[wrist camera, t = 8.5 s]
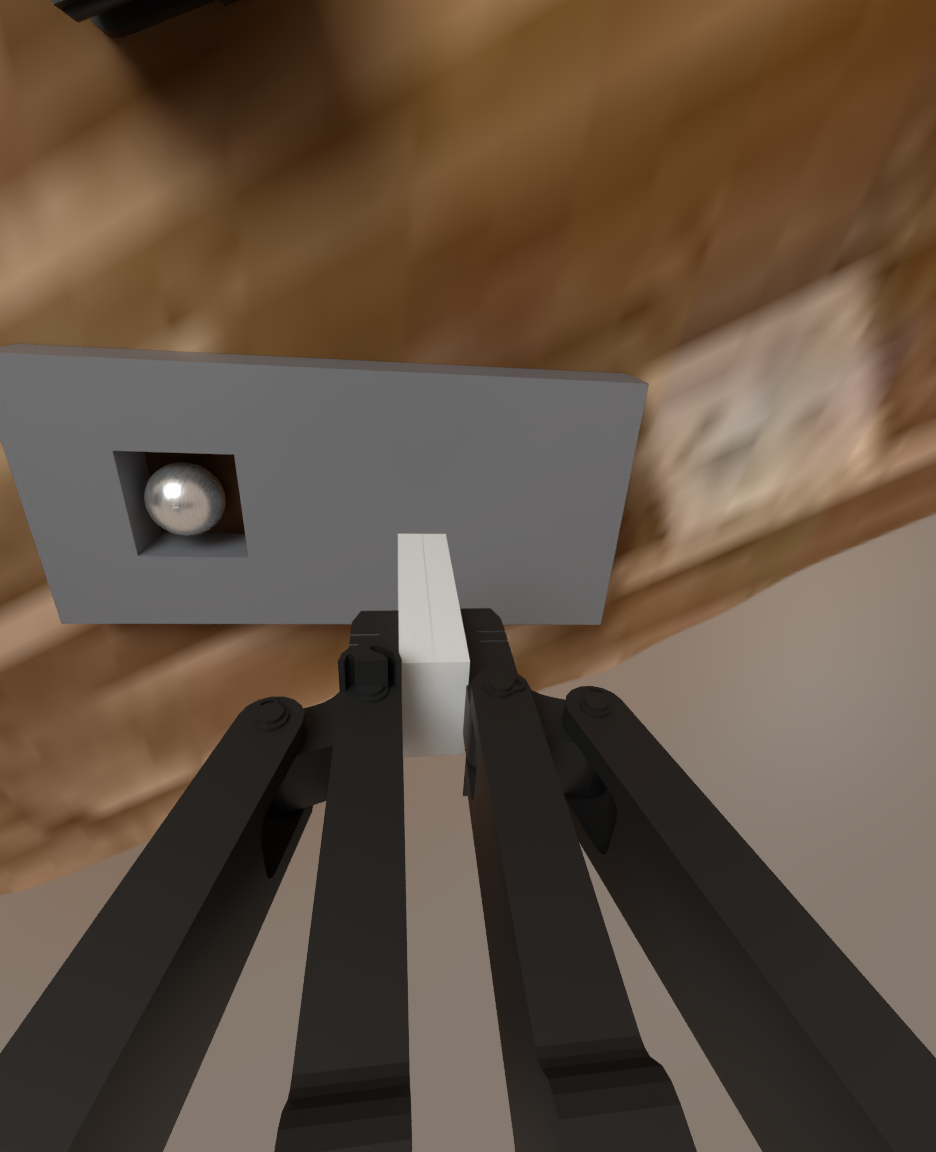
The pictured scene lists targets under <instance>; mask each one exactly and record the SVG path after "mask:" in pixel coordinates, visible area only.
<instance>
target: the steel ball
mask: <svg viewBox="0 0 936 1152" xmlns="http://www.w3.org/2000/svg"><path fill="white" fill-rule="evenodd" d="M144 501H145V506H146V509H147V511H148V513H149V515H150V517H151V518H152V519H153V520H154V521H155V523H156V524H158V525H159V526H160V527H162V528H163V529H165V530H167V531H169V532H171V533H174V534H178V535H186V536H189V535H197V534H201V533H203V532H206V531H208V530H209V529H211V528H212V527H213V526H215V525H216V524H217V523H218V521H219V520H220V519H221V517H222V515H223V513H224V509H225V504H226V499H225V492H224V489H223V487H222V485H221V483H220V482H219V480H218V479H217V478H216V476H215V475H214V474H213V473H211V472H210V471H209V470H207V469H206V468H204V467H202V466H200V465H197V464H193V463H188V462H178V463H172V464H168V465H166V466H164V467H162V468H160V469H159V470H157V471H156V472H155V473H154V474H153V475H152V476H151V477H150V479H149V481H148V482H147V485H146V488H145V492H144Z"/></svg>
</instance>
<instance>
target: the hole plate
mask: <svg viewBox="0 0 936 1152" xmlns="http://www.w3.org/2000/svg"><path fill="white" fill-rule="evenodd" d="M648 385H649V384H648V383H646V382H644V381H642V380H640V379H637V378H635V377H633V376H631V375H629V374H622V373H602V372H582V371H561V370H541V369H521V368H501V367H480V366H460V365H440V364H420V363H399V362H379V361H359V360H339V359H318V358H298V357H278V356H258V355H237V354H217V353H197V352H177V351H156V350H136V349H116V348H95V347H75V346H55V345H35V344H12V345H6V346H0V439H1V442H2V445H3V448H4V451H5V454H6V457H7V460H8V463H9V467H10V470H11V473H12V476H13V479H14V482H15V485H16V488H17V491H18V494H19V497H20V500H21V503H22V506H23V509H24V512H25V515H26V518H27V521H28V524H29V527H30V530H31V533H32V536H33V539H34V542H35V545H36V548H37V551H38V554H39V557H40V560H41V563H42V566H43V569H44V572H45V575H46V578H47V581H48V584H49V587H50V590H51V593H52V596H53V599H54V602H55V605H56V608H57V611H58V614H59V617H60V620H61V623H62V624H352V621H353V620H354V619H355V618H356V616H357V615H358V614H359V613H360V612H361V611H390V610H398V534H446V538H447V543H448V548H449V554H450V559H451V564H452V569H453V575H454V580H455V585H456V590H457V596H458V601H459V606H460V608H491V609H492V610H493V611H494V612H495V613H496V614H497V615H498V616H499V617H500V618H501V620H502V623H503V625H601V621H602V616H603V611H604V606H605V601H606V596H607V591H608V585H609V580H610V575H611V570H612V565H613V560H614V555H615V550H616V545H617V540H618V535H619V530H620V525H621V520H622V515H623V510H624V505H625V500H626V495H627V490H628V485H629V480H630V475H631V470H632V465H633V460H634V455H635V450H636V445H637V440H638V435H639V430H640V425H641V420H642V415H643V410H644V405H645V400H646V395H647V390H648ZM145 452H169V453H200V454H231V455H234V457H235V465H236V472H237V479H238V486H239V493H240V501H241V508H242V515H243V522H244V529H245V533H201V534H197V535H189V536H186V535H178V534H174V533H171V532H162V530H161V527H160V526H159V525H158V524H156V523H155V521H154V520H153V519H152V518H151V517H150V515H149V513H148V511H147V509H146V506H145V501H144V492H145V488H146V485H147V482H148V481H149V479H150V474H149V470H148V465H147V460H146V456H145Z"/></svg>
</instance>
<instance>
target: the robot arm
mask: <svg viewBox="0 0 936 1152" xmlns="http://www.w3.org/2000/svg"><path fill="white" fill-rule="evenodd" d="M338 670H339V686H340V692H339V693H338V694H337V695H335V696H334V697H333V698H331V699H330V700H328V701H326V702H324V703H321V704H318V705H315V706H311V707H307V708H302V705H300V704H299V703H298V702H297V701H295V700H293V699H290V698H287V697H269V698H265V699H261V700H258V701H256V702H254V703H252V704H250V705H248V706H247V707H246V708H245V709H244V710H243V711H242V712H241V713H240V714H239V715H238V716H237V718H236V719H235V721H234V722H233V723H232V725H231V726H230V728H229V729H228V731H227V732H226V733H225V735H224V736H223V738H222V739H221V741H220V742H219V743H218V745H217V746H216V748H215V749H214V750H213V752H212V753H211V755H210V756H209V758H208V759H207V760H206V762H205V763H204V765H203V766H202V768H201V769H200V770H199V772H198V773H197V775H196V776H195V777H194V779H193V780H192V782H191V783H190V785H189V786H188V787H187V789H186V790H185V792H184V793H183V795H182V796H181V797H180V799H179V800H178V802H177V803H176V804H175V806H174V807H173V809H172V810H171V812H170V813H169V814H168V816H167V817H166V819H165V820H164V822H163V823H162V824H161V826H160V827H159V829H158V830H157V832H156V833H155V834H154V836H153V837H152V839H151V840H150V841H149V843H148V844H147V846H146V847H145V849H144V850H143V852H142V853H141V854H140V856H139V857H138V859H137V860H136V861H135V863H134V864H133V866H132V867H131V868H130V870H129V872H128V873H127V874H126V876H125V877H124V878H123V880H122V881H121V883H120V884H119V886H118V887H117V889H116V890H115V891H114V893H113V894H112V896H111V897H110V898H109V900H108V901H107V903H106V904H105V905H104V907H103V908H102V910H101V911H100V913H99V914H98V915H97V917H96V918H95V920H94V921H93V923H92V924H91V925H90V927H89V928H88V930H87V931H86V932H85V934H84V935H83V937H82V938H81V940H80V941H79V942H78V944H77V945H76V947H75V948H74V950H73V951H72V952H71V954H70V955H69V957H68V958H67V959H66V961H65V962H64V964H63V965H62V967H61V968H60V969H59V971H58V972H57V974H56V975H55V977H54V978H53V979H52V981H51V982H50V984H49V985H48V987H47V988H46V989H45V991H44V992H43V994H42V995H41V997H40V998H39V1000H38V1001H37V1002H36V1004H35V1005H34V1006H33V1008H32V1009H31V1011H30V1012H29V1013H28V1015H27V1017H26V1018H25V1019H24V1021H23V1022H22V1023H21V1025H20V1026H19V1028H18V1029H17V1031H16V1032H15V1033H14V1035H13V1036H12V1038H11V1039H10V1041H9V1042H8V1043H7V1045H6V1046H5V1048H4V1049H3V1050H2V1052H1V1053H0V1152H163V1150H164V1147H165V1145H166V1143H167V1141H168V1139H169V1136H170V1134H171V1132H172V1129H173V1127H174V1125H175V1122H176V1120H177V1118H178V1116H179V1114H180V1111H181V1109H182V1107H183V1104H184V1102H185V1100H186V1097H187V1095H188V1093H189V1091H190V1088H191V1086H192V1084H193V1081H194V1079H195V1077H196V1075H197V1072H198V1070H199V1068H200V1066H201V1063H202V1061H203V1059H204V1056H205V1054H206V1052H207V1050H208V1047H209V1045H210V1043H211V1041H212V1038H213V1036H214V1034H215V1031H216V1029H217V1027H218V1025H219V1022H220V1020H221V1018H222V1016H223V1013H224V1011H225V1008H226V1006H227V1004H228V1002H229V1000H230V997H231V995H232V993H233V990H234V988H235V986H236V984H237V981H238V979H239V977H240V975H241V972H242V970H243V968H244V965H245V963H246V961H247V958H248V956H249V954H250V951H251V949H252V947H253V945H254V943H255V940H256V938H257V936H258V933H259V931H260V929H261V927H262V924H263V922H264V920H265V918H266V915H267V913H268V911H269V908H270V906H271V904H272V902H273V899H274V897H275V895H276V892H277V890H278V888H279V886H280V883H281V881H282V879H283V877H284V874H285V872H286V870H287V867H288V865H289V863H290V861H291V858H292V856H293V854H294V851H295V849H296V847H297V845H298V842H299V840H300V838H301V836H302V833H303V831H304V828H305V826H306V824H307V822H308V820H309V817H310V815H311V813H312V808H313V805H315V804H318V803H321V802H324V801H326V808H325V816H324V824H323V832H322V840H321V848H320V856H319V864H318V872H317V880H316V889H315V896H314V904H313V912H312V921H311V928H310V936H309V944H308V953H307V961H306V968H305V976H304V984H303V993H302V1001H301V1008H300V1016H299V1025H298V1033H297V1041H296V1049H295V1057H294V1065H293V1073H292V1080H291V1087H290V1092H289V1096H288V1100H287V1102H286V1104H285V1107H284V1109H283V1111H282V1114H281V1119H280V1123H279V1127H278V1132H277V1139H276V1145H275V1151H274V1152H412V1127H411V1094H410V1076H409V1029H408V979H407V933H406V932H407V931H406V884H405V883H406V879H405V834H404V833H405V830H404V781H403V757H420V756H443V755H463V749H464V744H465V752H466V763H465V776H464V789H463V796H468V801H469V808H470V816H471V823H472V830H473V838H474V846H475V853H476V860H477V868H478V875H479V883H480V889H481V897H482V905H483V912H484V920H485V927H486V935H487V942H488V950H489V957H490V965H491V972H492V979H493V986H494V994H495V1002H496V1009H497V1017H498V1024H499V1031H500V1039H501V1046H502V1054H503V1061H504V1069H505V1076H506V1084H507V1091H508V1098H509V1106H510V1113H511V1121H512V1128H513V1135H514V1144H515V1152H697V1151H696V1148H695V1145H694V1142H693V1139H692V1136H691V1133H690V1130H689V1127H688V1124H687V1121H686V1119H685V1116H684V1112H683V1110H682V1107H681V1104H680V1101H679V1099H678V1096H677V1094H676V1092H675V1089H674V1086H673V1084H672V1081H671V1079H670V1078H669V1076H668V1075H667V1073H666V1071H665V1069H664V1068H663V1066H662V1065H661V1064H659V1063H658V1062H657V1061H655V1060H654V1059H653V1058H651V1057H650V1056H649V1054H648V1052H647V1051H646V1049H645V1047H644V1044H643V1042H642V1039H641V1037H640V1033H639V1030H638V1027H637V1024H636V1021H635V1018H634V1015H633V1012H632V1008H631V1005H630V1002H629V999H628V996H627V993H626V989H625V986H624V983H623V980H622V977H621V974H620V970H619V967H618V964H617V961H616V958H615V955H614V951H613V948H612V945H611V942H610V939H609V936H608V932H607V929H606V926H605V923H604V920H603V917H602V914H601V910H600V907H599V904H598V901H597V898H596V895H595V891H594V888H593V885H592V882H591V879H590V876H589V872H588V869H587V866H586V863H585V860H584V857H583V853H582V850H581V847H580V844H581V846H582V848H583V849H584V851H585V853H586V854H587V856H588V858H589V859H590V861H591V863H592V864H593V866H594V868H595V870H596V871H597V873H598V874H599V876H600V878H601V880H602V881H603V883H604V885H605V886H606V888H607V890H608V891H609V893H610V895H611V896H612V898H613V900H614V902H615V903H616V905H617V907H618V908H619V910H620V912H621V913H622V915H623V917H624V918H625V920H626V921H627V924H628V925H629V927H630V929H631V930H632V932H633V934H634V935H635V937H636V939H637V940H638V942H639V944H640V945H641V947H642V949H643V951H644V952H645V954H646V956H647V957H648V959H649V961H650V962H651V964H652V966H653V967H654V969H655V971H656V972H657V974H658V976H659V978H660V979H661V981H662V983H663V984H664V986H665V988H666V989H667V991H668V993H669V994H670V996H671V998H672V999H673V1001H674V1003H675V1005H676V1006H677V1008H678V1010H679V1011H680V1013H681V1014H682V1016H683V1018H684V1020H685V1021H686V1023H687V1025H688V1027H689V1028H690V1030H691V1031H692V1033H693V1035H694V1037H695V1038H696V1040H697V1041H698V1043H699V1045H700V1047H701V1048H702V1050H703V1052H704V1054H705V1055H706V1057H707V1058H708V1060H709V1062H710V1064H711V1065H712V1067H713V1069H714V1070H715V1072H716V1074H717V1075H718V1077H719V1079H720V1081H721V1082H722V1084H723V1086H724V1087H725V1089H726V1091H727V1092H728V1094H729V1096H730V1097H731V1099H732V1101H733V1103H734V1104H735V1106H736V1108H737V1109H738V1111H739V1113H740V1114H741V1116H742V1118H743V1119H744V1121H745V1123H746V1124H747V1126H748V1128H749V1130H750V1131H751V1133H752V1135H753V1136H754V1138H755V1139H756V1141H757V1143H758V1145H759V1146H760V1148H761V1150H762V1151H763V1152H936V1058H935V1057H934V1056H933V1055H932V1053H931V1052H930V1051H929V1050H928V1049H927V1048H926V1047H925V1045H924V1044H923V1043H922V1042H921V1041H920V1040H919V1039H918V1038H917V1036H915V1034H914V1033H913V1032H912V1031H911V1029H910V1028H909V1027H908V1026H907V1025H906V1024H905V1023H904V1021H903V1020H902V1019H901V1018H900V1017H899V1016H898V1015H897V1013H896V1012H895V1011H894V1010H893V1009H892V1008H891V1007H890V1005H889V1004H888V1003H887V1002H886V1001H885V1000H884V999H883V998H882V996H881V995H880V994H879V993H878V992H877V991H876V990H875V988H874V987H873V986H872V985H871V984H870V983H869V982H868V980H867V979H866V978H865V977H864V976H863V975H862V974H861V972H860V971H859V970H858V969H857V968H856V967H855V966H854V964H853V963H852V962H851V961H850V960H849V959H848V958H847V957H846V955H845V954H844V953H843V952H842V951H841V950H840V948H839V947H838V946H837V945H836V944H835V943H834V942H833V941H832V939H831V938H830V937H829V936H828V935H827V934H826V933H825V931H824V930H823V929H822V928H821V927H820V926H819V925H818V923H817V922H816V921H815V920H814V919H813V918H812V917H811V915H810V914H809V913H808V912H807V911H806V910H805V909H804V907H803V906H802V905H801V904H800V903H799V902H798V901H797V899H796V898H795V897H794V896H793V895H792V894H791V893H790V891H789V890H788V889H787V888H786V887H785V886H784V885H783V883H782V882H781V881H780V880H779V879H778V878H777V877H776V875H775V874H774V873H773V872H772V871H771V870H770V869H769V868H768V866H767V865H766V864H765V863H764V862H763V861H762V860H761V858H759V856H758V855H757V854H756V853H755V852H754V850H753V849H752V848H751V847H750V846H749V845H748V844H747V843H746V841H745V840H744V839H743V838H742V837H741V836H740V835H739V833H738V832H737V831H736V830H735V829H734V828H733V826H732V825H731V824H730V823H729V822H728V821H727V820H726V818H725V817H724V816H723V815H722V814H721V813H720V812H719V811H718V809H717V808H716V807H715V806H714V805H713V804H712V803H711V801H710V800H709V799H708V798H707V797H706V796H705V795H704V793H703V792H702V791H701V790H700V789H699V788H698V787H697V785H696V784H695V783H694V782H693V781H692V780H691V779H690V777H689V776H688V775H687V774H686V773H685V772H684V771H683V769H682V768H681V767H680V766H679V765H678V764H677V763H676V762H675V760H674V759H673V758H672V757H671V756H670V755H669V753H668V752H667V751H666V750H665V749H664V748H663V747H662V745H661V744H660V743H659V742H658V741H657V740H656V739H655V738H654V736H653V735H652V734H651V733H650V732H649V731H648V730H647V729H646V727H645V726H644V725H643V724H642V723H641V722H640V721H639V719H638V718H637V717H636V716H635V715H634V714H633V712H632V711H631V710H630V709H629V708H628V707H627V706H626V705H625V703H624V702H623V701H622V700H621V699H620V698H619V697H617V696H616V695H615V694H614V693H612V692H610V691H608V690H605V689H603V688H599V687H593V686H585V687H584V686H582V687H578V688H576V689H573V690H571V691H570V692H569V694H568V695H567V696H566V700H563V699H558V698H553V697H549V696H545V695H542V694H539V693H537V692H535V691H532V690H531V689H530V686H529V685H528V683H527V681H526V680H525V679H524V678H523V677H521V676H520V675H519V674H518V673H517V670H516V666H515V663H514V660H513V656H512V653H511V650H510V647H509V643H508V642H507V637H506V633H505V632H504V627H503V623H502V620H501V618H500V617H499V616H498V615H497V614H496V613H495V612H494V611H493V610H492V609H491V608H460V606H459V601H458V596H457V590H456V585H455V580H454V575H453V569H452V564H451V559H450V554H449V548H448V543H447V538H446V534H398V610H390V611H361V612H360V613H359V614H358V615H357V616H356V618H355V619H354V620H353V621H352V627H351V636H350V646H349V648H348V649H347V650H346V651H345V652H343V653H342V654H341V656H340V658H339V660H338ZM579 842H580V844H579Z"/></svg>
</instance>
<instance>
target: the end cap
mask: <svg viewBox="0 0 936 1152" xmlns="http://www.w3.org/2000/svg"><path fill="white" fill-rule="evenodd" d="M213 1H215V0H52V2H53V4H54V5H55V6H56V7H58V8H59V9H60V10H62V11H63V12H64V13H66V14H67V15H68V16H70V17H71V18H72V19H74V20H75V21H77V22H81V21H83V20H86V19H88V18H90V19H91V21H92V22H93V23H94V25H95V26H97V27H98V28H99V29H101V30H102V31H103V32H105V33H107V34H108V35H110V36H112V37H125V36H127V35H130V34H132V33H135V32H137V31H140V30H142V29H145V28H147V27H150V26H152V25H155V24H157V23H160V22H163V21H165V20H168V19H170V18H173V17H175V16H178V15H180V14H183V13H185V12H188V11H190V10H193V9H195V8H198V7H200V6H203V5H205V4H208V3H210V2H213ZM220 1H221V2H222V3H223V5H224V6H227V5H229V4H231V3H233V2H235V1H238V0H220Z"/></svg>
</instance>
